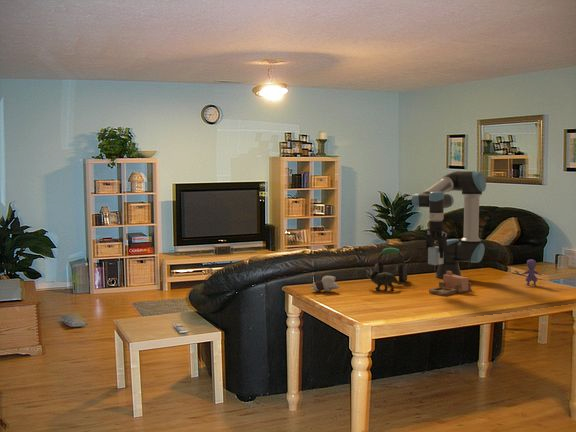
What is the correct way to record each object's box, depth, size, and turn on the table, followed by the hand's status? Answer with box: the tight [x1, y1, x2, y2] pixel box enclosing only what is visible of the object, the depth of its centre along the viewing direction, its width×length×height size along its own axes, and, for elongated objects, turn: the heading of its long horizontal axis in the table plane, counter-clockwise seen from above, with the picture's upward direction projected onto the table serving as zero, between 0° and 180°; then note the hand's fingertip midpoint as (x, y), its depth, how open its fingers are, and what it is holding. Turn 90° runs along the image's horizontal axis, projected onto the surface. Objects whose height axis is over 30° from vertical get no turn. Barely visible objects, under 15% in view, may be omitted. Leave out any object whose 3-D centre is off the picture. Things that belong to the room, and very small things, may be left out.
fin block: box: [427, 245, 444, 266], centre depth 356 cm, size 5×7×9 cm
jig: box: [428, 281, 473, 297], centre depth 360 cm, size 14×22×4 cm, turn 130°
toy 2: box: [513, 258, 549, 287], centre depth 375 cm, size 18×6×15 cm, turn 84°
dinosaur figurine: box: [365, 267, 406, 292], centre depth 366 cm, size 22×8×11 cm, turn 71°
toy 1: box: [310, 275, 340, 293], centre depth 362 cm, size 13×9×15 cm
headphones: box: [374, 247, 408, 283], centre depth 390 cm, size 19×11×20 cm, turn 80°
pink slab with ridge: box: [442, 271, 469, 291], centre depth 363 cm, size 14×5×9 cm, turn 31°
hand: (435, 263), depth 356 cm, fingers closed on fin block, 5 cm apart
